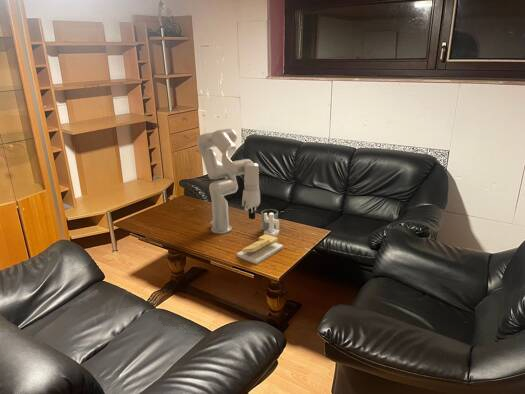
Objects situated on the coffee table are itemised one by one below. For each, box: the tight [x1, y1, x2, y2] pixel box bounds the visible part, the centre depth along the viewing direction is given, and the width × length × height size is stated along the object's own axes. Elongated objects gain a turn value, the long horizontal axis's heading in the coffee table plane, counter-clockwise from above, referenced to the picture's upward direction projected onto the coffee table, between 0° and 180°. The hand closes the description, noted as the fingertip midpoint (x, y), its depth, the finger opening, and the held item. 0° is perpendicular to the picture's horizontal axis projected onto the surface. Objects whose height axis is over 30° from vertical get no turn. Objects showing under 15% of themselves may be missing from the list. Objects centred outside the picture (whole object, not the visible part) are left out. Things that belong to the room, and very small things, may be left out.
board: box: [236, 242, 285, 265], centre depth 213 cm, size 14×23×4 cm, turn 140°
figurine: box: [263, 213, 280, 237], centre depth 228 cm, size 7×9×15 cm
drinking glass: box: [260, 208, 279, 232], centre depth 238 cm, size 10×10×12 cm
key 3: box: [241, 244, 262, 253], centre depth 207 cm, size 9×6×2 cm, turn 50°
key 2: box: [250, 240, 270, 247], centre depth 212 cm, size 9×6×2 cm, turn 50°
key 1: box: [258, 233, 279, 245], centre depth 217 cm, size 9×6×2 cm, turn 50°
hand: (251, 218), depth 211 cm, fingers closed
